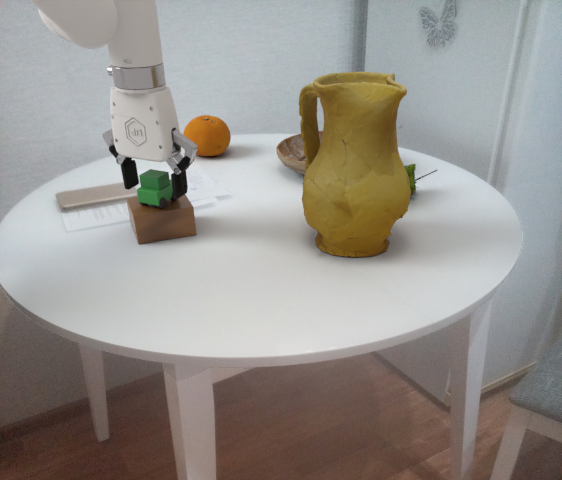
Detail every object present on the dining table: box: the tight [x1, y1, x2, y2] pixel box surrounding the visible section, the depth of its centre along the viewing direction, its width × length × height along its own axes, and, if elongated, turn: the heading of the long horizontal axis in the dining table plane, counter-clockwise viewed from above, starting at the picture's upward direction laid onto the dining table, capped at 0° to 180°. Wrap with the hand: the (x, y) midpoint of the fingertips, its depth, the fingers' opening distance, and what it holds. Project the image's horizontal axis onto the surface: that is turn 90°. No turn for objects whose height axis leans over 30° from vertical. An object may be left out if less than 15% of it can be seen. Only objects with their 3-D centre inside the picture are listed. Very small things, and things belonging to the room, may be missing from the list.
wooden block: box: [125, 194, 197, 245], centre depth 96 cm, size 10×8×5 cm
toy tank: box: [403, 163, 437, 194], centre depth 107 cm, size 7×19×10 cm
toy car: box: [136, 168, 177, 209], centre depth 93 cm, size 6×4×5 cm
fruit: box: [182, 114, 232, 157], centre depth 127 cm, size 10×10×8 cm
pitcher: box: [298, 71, 412, 258], centre depth 87 cm, size 17×19×25 cm
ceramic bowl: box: [275, 130, 323, 176], centre depth 119 cm, size 23×24×5 cm
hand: (156, 191), depth 93 cm, fingers open, 9 cm apart
